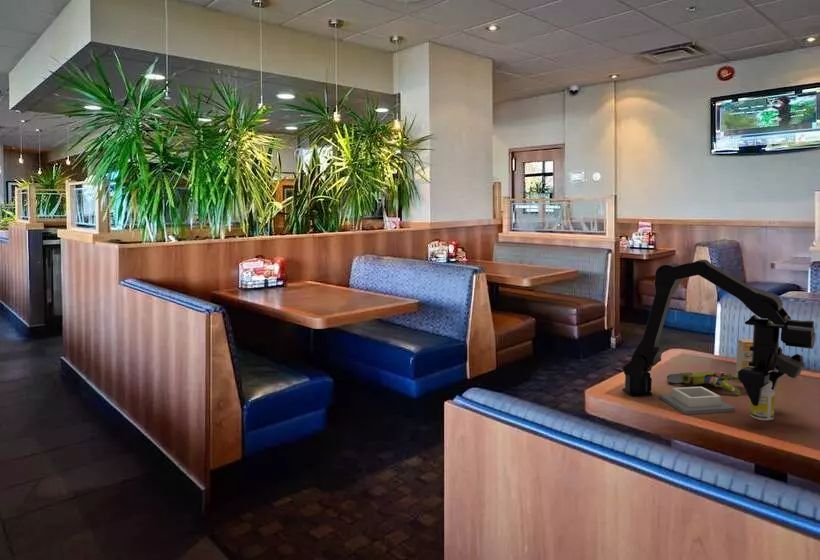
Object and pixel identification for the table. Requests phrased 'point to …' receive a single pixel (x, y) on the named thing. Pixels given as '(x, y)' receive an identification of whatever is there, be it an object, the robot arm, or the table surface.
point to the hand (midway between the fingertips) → (762, 401)
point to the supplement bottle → (764, 404)
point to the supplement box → (743, 354)
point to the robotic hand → (706, 379)
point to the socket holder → (696, 401)
